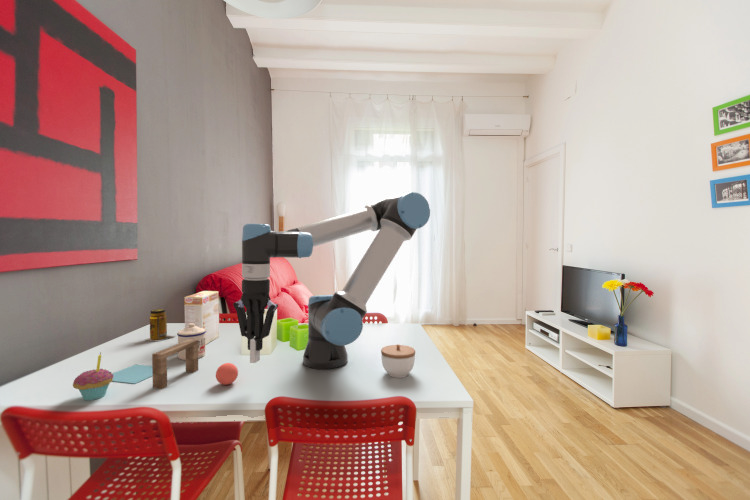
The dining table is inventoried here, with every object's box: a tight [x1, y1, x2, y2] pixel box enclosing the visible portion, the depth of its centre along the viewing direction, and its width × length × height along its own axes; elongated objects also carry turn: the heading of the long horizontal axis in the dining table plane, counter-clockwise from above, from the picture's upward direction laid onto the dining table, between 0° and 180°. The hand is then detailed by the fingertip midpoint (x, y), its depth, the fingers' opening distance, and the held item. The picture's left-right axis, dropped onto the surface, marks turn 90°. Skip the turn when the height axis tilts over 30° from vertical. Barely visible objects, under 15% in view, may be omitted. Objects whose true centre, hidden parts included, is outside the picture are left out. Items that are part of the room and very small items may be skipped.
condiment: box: [146, 308, 176, 342], centre depth 154 cm, size 7×8×12 cm
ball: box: [215, 362, 239, 386], centre depth 108 cm, size 6×6×6 cm
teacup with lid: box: [176, 323, 206, 361], centre depth 134 cm, size 12×9×12 cm
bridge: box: [151, 339, 199, 390], centre depth 112 cm, size 3×15×10 cm, turn 167°
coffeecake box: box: [183, 290, 220, 346], centre depth 150 cm, size 15×7×20 cm, turn 178°
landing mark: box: [112, 364, 170, 385], centre depth 115 cm, size 13×13×1 cm
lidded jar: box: [380, 343, 416, 379], centre depth 117 cm, size 11×11×9 cm
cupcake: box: [72, 352, 114, 401], centre depth 99 cm, size 9×8×12 cm
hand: (254, 361), depth 106 cm, fingers closed
